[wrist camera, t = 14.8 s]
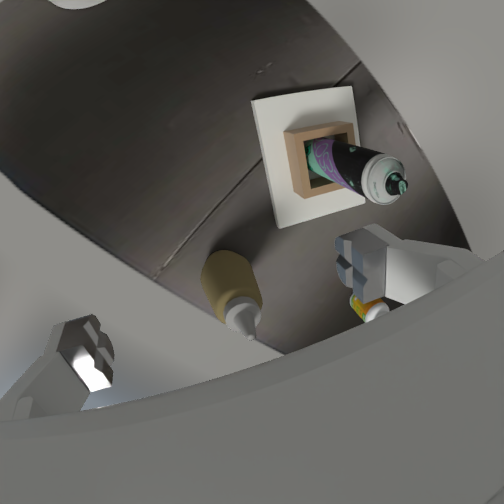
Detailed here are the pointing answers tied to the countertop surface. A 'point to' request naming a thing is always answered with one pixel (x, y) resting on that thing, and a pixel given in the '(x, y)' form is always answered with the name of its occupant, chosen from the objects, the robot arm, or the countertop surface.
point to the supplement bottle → (369, 308)
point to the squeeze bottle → (232, 291)
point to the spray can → (357, 169)
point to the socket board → (293, 153)
